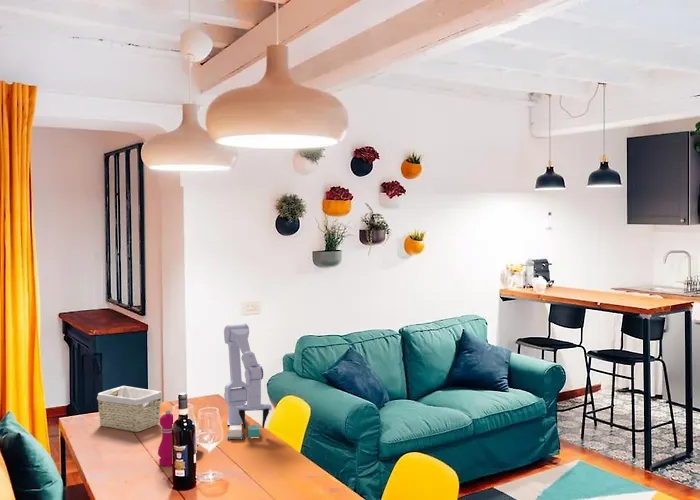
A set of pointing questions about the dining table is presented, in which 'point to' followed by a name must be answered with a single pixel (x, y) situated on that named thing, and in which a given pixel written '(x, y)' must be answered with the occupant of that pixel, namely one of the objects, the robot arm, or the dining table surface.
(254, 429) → the teal brick
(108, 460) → the dining table surface
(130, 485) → the dining table surface
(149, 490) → the dining table surface
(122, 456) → the dining table surface
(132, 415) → the storage basket
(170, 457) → the pepper mill
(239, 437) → the baseplate
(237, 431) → the cream brick
